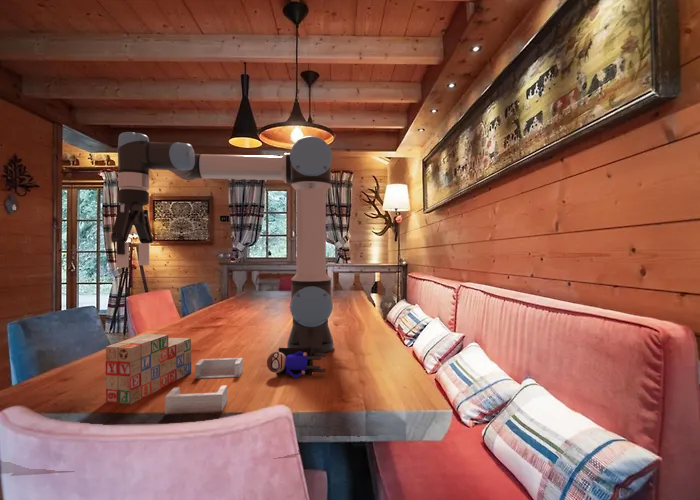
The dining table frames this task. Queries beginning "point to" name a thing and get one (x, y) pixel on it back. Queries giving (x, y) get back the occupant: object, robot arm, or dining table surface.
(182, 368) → the stack of blocks
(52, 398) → the dining table surface
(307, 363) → the character figurine
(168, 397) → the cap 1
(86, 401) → the dining table surface
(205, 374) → the grey piece
